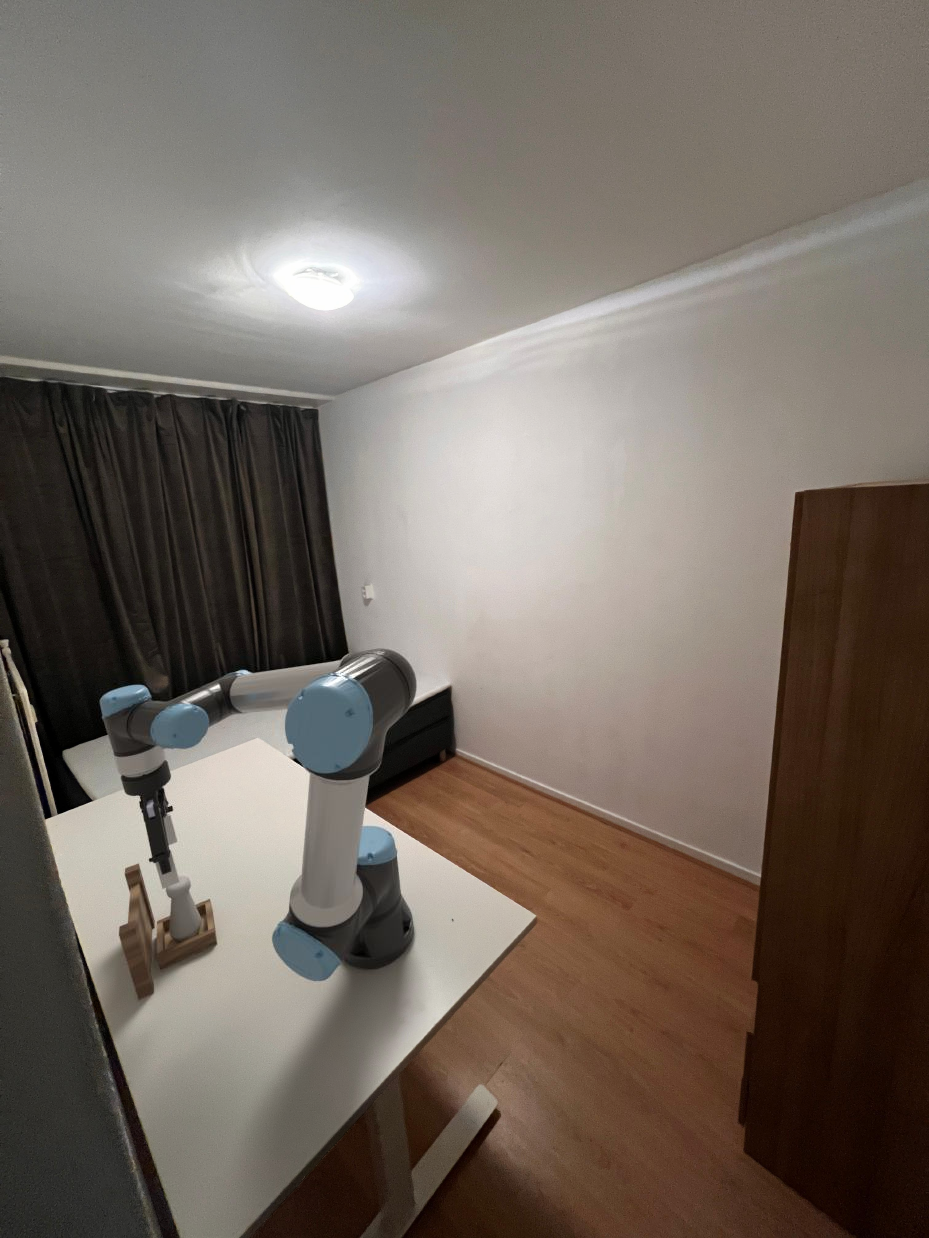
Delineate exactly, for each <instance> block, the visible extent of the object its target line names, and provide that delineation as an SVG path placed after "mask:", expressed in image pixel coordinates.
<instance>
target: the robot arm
mask: <svg viewBox="0 0 929 1238" xmlns="http://www.w3.org/2000/svg"><path fill="white" fill-rule="evenodd" d="M416 695H417V677H416V673H415V671H414V668H413V666H412V664H410V662H409V661H408V660H407V658H406V657H405V656H403V655H401V653H399V652H397V651H395V650H392V649H389V648H383V647H382V648H373V649H367V650H362V651H357V652H356V651H355V652H351V653H347V654H346V655H344V656H343V657H342V658H341V660H335V661H327V662H322V663H315V664H309V665H307V664H306V665H301V666H294V667H288V668H281V669H275V670H274V669H273V670H266V671H260V672H251V671H248V670H246V669H239V670H238V671H235V672H230V673H227V674H225V675H223V676H222V677H219V678H217V679H216V680H214V681H212V682H209V683H207V684H205V685H202V686H201V687H198V688H195V689H193V690H191V691H189V692H187V693H185V694H182V695H180V696H177V697H176V698H173V699H171V700H168V701H161V700H153V699H152V694H151V693H150V691H149V689H148V688H147V687H146V686H145V685H144V684H143V685H142V684H132V685H127V686H126V685H125V686H122V687H119V688H115V689H112V690H110V691H108V692H106V693H105V694H103V695H102V697H101V698H100V699H99V705H100V709H101V715H102V716H101V719H102V720H103V723H104V726H105V729H106V733H107V736H108V739H109V742H110V743H109V744H110V745H111V750H112V751H113V758H114V760H115V765H116V769H117V772H118V774H119V775H120V780H121V784H122V786H123V791H124V793H125V795H127V796H130V797H137V796H138V797H139V802H138V804H139V808H140V810H141V813H142V817H143V822H144V825H145V830H146V835H147V840H148V845H149V848H150V853H151V857H149V858H148V862H149V863H153V864H154V865H155V867H156V870H157V874H158V878H159V882H160V885H161V888H162V889H166V887H168V886H171V885H173V884H176V883H178V882H179V874H178V870H177V867H176V863H175V859H174V856H173V851H172V850H171V849H170V845H173V844H176V843H178V838H177V837H178V836H177V835H176V830H175V827H174V823H173V819H172V816H171V812H174V806H173V805H170V806H169V804H170V803H169V801H168V799H167V796H166V790H165V788H164V786H166V785H167V784H168V783H169V782H170V781H171V778H172V773H171V769H170V767H169V762H168V761H167V760H166V757H167V756H166V752H165V749H169V750H170V749H171V750H174V749H177V750H178V749H179V750H186V749H187V750H188V749H191V748H194V747H195V746H197V745H198V744H199V743H201V741H202V739H203V738H204V737H205V736H207V734H208V731H209V728H211V727H213V726H214V725H216V724H219V723H220V722H222V721H224V720H226V719H227V718H229V717H231V716H234V715H243V714H249V713H260V712H261V713H263V712H269V711H270V712H272V711H284V710H286V713H285V718H284V733H285V739H286V742H287V744H288V745H292V749H291V753H292V754H293V756H294V757H295V758H296V760H297V761H298V762H299V763H300V764H301V766H303V769H304V770H305V771H306V772H307V773H309V778H308V779H309V780H308V790H307V791H308V792H307V803H306V804H307V805H306V815H305V816H306V818H305V830H304V839H303V840H304V843H303V854H302V865H301V874H300V875H299V876H298V877H297V878H296V880H295V881H294V883H293V885H292V887H291V890H290V894H289V904H288V912H287V914H286V915H285V917H284V918H283V920H282V921H279V922H278V923H277V926H276V927H275V928H274V930H273V932H272V936H271V941H272V946H273V948H274V951H275V952H276V954H277V956H278V957H279V959H280V960H281V961H282V962H283V963H284V964H285V965H286V966H287V967H288V968H289V969H290V970H291V971H293V972H294V973H295V974H297V975H298V976H300V977H302V978H303V979H306V980H308V981H311V982H322V981H323V982H324V981H327V980H328V979H329V978H331V976H332V975H333V974H334V973H335V971H336V970H337V968H338V967H340V966H341V965H342V962H343V960H344V961H346V963H347V964H349V965H350V966H352V967H354V968H358V969H362V970H363V969H364V970H372V969H373V970H374V969H379V968H382V967H385V966H387V965H389V964H392V962H394V961H396V960H397V959H398V958H399V957H401V956H402V955H403V954H404V953H405V951H407V949H408V948H409V946H410V944H411V942H412V939H413V936H414V931H415V929H414V928H415V926H414V919H413V918H414V917H413V914H412V911H411V908H410V907H409V905H408V904H407V900H405V898H404V896H403V894H402V890H401V881H400V872H399V871H400V869H399V862H398V848H397V846H396V841H395V838H394V836H393V834H392V833H391V832H390V831H389V830H387V829H386V828H383V827H380V826H376V825H364V817H365V812H366V811H365V810H366V803H367V797H368V796H367V795H368V788H369V787H368V786H369V782H370V776H371V775H372V774H373V773H375V772H376V771H377V770H378V769H379V768H380V765H381V764H382V761H383V753H384V749H385V741H386V736H387V732H388V730H389V729H390V728H391V727H392V726H393V725H394V724H396V722H398V721H399V720H400V719H401V718H402V717H404V715H405V714H406V713H407V712H408V710H409V709H410V708H411V707H412V705H413V703H414V701H415V698H416Z"/></svg>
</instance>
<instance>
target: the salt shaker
mask: <svg viewBox="0 0 929 1238" xmlns="http://www.w3.org/2000/svg"><path fill="white" fill-rule="evenodd" d="M178 877H179V882H178V883H176V884H173V885H171V886H168V887H166V888H165V892H166V895H167V897H168V899H170V912H169V913H170V914H169V916H170V927H169V932H170V936H171V937H172V938H173V939H174V940H175V941H176V942H179V943H181V942H184V941H186V940H188V939H190V938H192V937H195V936H196V935H197V933H198V932H199V929H200V926H201V922H202V919H201V916H200V914H199V912H198V910H197V908H196V906H195V905H196V903H195V902H194V899H193V896H192V895H191V893H190V889H191V887H192V884H191V883H192V882H191V880H190V878H189V877H187V875H181V876H179V875H178Z"/></svg>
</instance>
